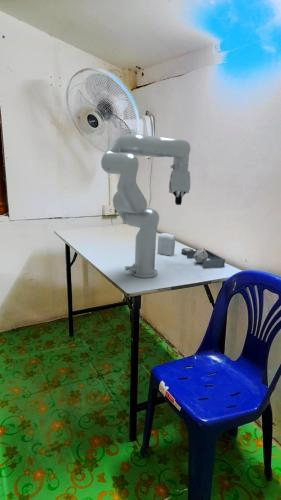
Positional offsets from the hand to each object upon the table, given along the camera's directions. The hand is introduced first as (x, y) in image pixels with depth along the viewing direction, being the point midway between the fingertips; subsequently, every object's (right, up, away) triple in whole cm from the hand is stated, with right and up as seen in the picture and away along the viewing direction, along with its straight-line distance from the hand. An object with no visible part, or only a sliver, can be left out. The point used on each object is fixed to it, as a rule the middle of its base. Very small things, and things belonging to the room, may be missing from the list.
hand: (178, 204), depth 168 cm
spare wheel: (+8, -26, +25) cm, 36 cm away
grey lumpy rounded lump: (+13, -31, +8) cm, 34 cm away
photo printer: (-5, -26, +22) cm, 35 cm away
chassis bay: (+15, -30, +10) cm, 35 cm away
